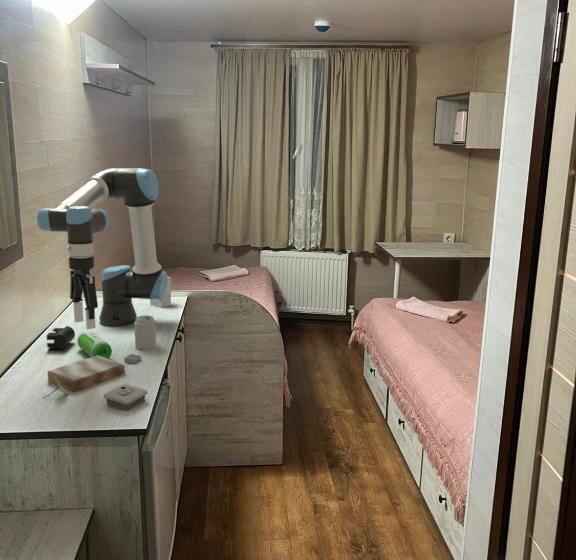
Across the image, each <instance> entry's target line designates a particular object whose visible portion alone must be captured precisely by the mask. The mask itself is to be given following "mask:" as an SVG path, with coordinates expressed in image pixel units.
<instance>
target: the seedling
mask: <svg viewBox="0 0 576 560" xmlns="http://www.w3.org/2000/svg"><path fill="white" fill-rule="evenodd" d="M54 379H55V381H56V383H57V384H58V386H57V388H55V389H54V390H53V391H52V392H51V393H50V394H48V395H45V396H44V397H42V399H45V398H47V397H49V396H51V395H52V394H53V393H54V392H55V391H56V390H58V389H60V390H61V391H62V392H63V393H64V395H65V394H66V395H70V391H69V390H66V389H65V388H63V387H61V384H60V382H59V381H58V379H57V378H56V377H54Z"/></svg>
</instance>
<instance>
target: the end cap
mask: <svg viewBox="0 0 576 560" xmlns="http://www.w3.org/2000/svg"><path fill="white" fill-rule="evenodd" d="M75 337H76V332H75V330H74V328H73V327H71V326H69V325H65V327H55V328H53V329H52V332H49V333H47V334H46V340H47V341H52V342H47V343H46V347H47V348H48V349H47V351H48V352H61V351H63V350H64V349H65V348H66V347H67V346H68V345H69V344H70V343H71V342H72V341H73V340H74V338H75Z"/></svg>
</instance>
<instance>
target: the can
mask: <svg viewBox="0 0 576 560" xmlns="http://www.w3.org/2000/svg"><path fill="white" fill-rule="evenodd" d="M133 324H134V344H135V349H137V350H140V351H142V350H143V351H148V350H151V349H155V348H156V347H157V325H156V320H155V319H154V316H151V315H139V316H137V318H136V321H135V322H134V323H133Z"/></svg>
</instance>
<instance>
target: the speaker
mask: <svg viewBox="0 0 576 560" xmlns="http://www.w3.org/2000/svg"><path fill="white" fill-rule="evenodd" d="M76 340H77V345H78V347H79V349H81V351H84V353H86V354H87V355H88V356H89V358H91V357H94V356H97V355H98V356H101V357H104V358H106V359H109V360H110V358H111V357H112V352H113V349H112V347H111V344H109V342H107V341H106V340H105V339H103V338H102V337H100V336H99V335H98V334H97V333H96V332H94V331H92V330H84V331H82V332H81V333H79V334H78V336H77V339H76Z"/></svg>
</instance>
